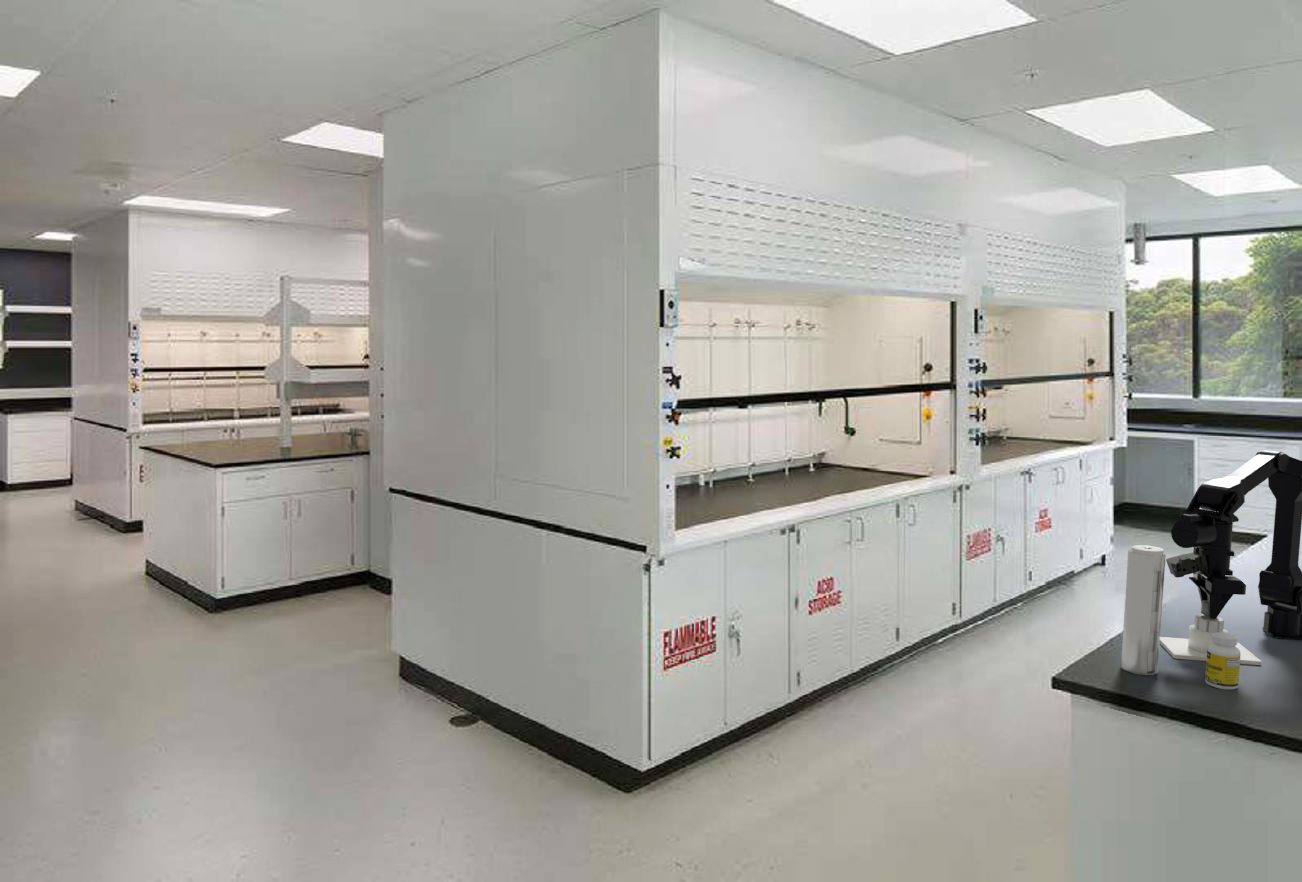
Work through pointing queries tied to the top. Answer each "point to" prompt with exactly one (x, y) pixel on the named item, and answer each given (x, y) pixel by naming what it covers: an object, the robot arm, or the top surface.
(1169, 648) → the tray
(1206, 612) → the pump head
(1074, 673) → the top surface
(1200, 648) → the white tiered cylinder
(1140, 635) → the white tall cylinder
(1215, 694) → the top surface
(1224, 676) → the supplement bottle
